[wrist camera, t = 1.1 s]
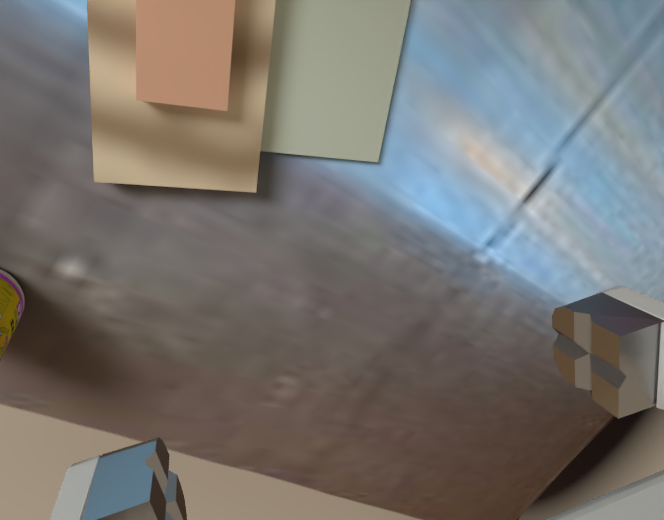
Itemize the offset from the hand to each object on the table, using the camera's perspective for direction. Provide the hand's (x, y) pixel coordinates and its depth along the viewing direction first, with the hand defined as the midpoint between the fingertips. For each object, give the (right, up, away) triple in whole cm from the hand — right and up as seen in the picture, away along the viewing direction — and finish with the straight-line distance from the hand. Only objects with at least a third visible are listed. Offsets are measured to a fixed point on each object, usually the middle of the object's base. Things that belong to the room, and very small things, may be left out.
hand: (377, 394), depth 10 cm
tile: (-11, +18, +24) cm, 32 cm away
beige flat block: (-12, +19, +26) cm, 34 cm away
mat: (-1, +19, +30) cm, 35 cm away
